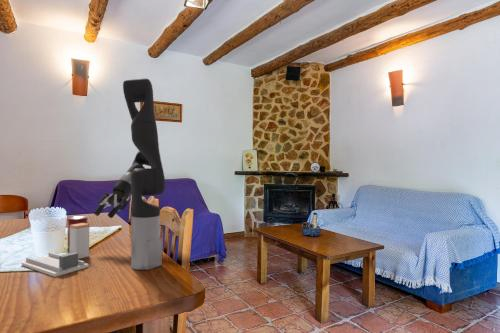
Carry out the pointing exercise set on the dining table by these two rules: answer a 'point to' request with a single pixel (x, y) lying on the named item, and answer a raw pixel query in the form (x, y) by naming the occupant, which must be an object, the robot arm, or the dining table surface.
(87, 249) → the block
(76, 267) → the rail board
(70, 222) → the soda can
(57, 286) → the dining table surface
